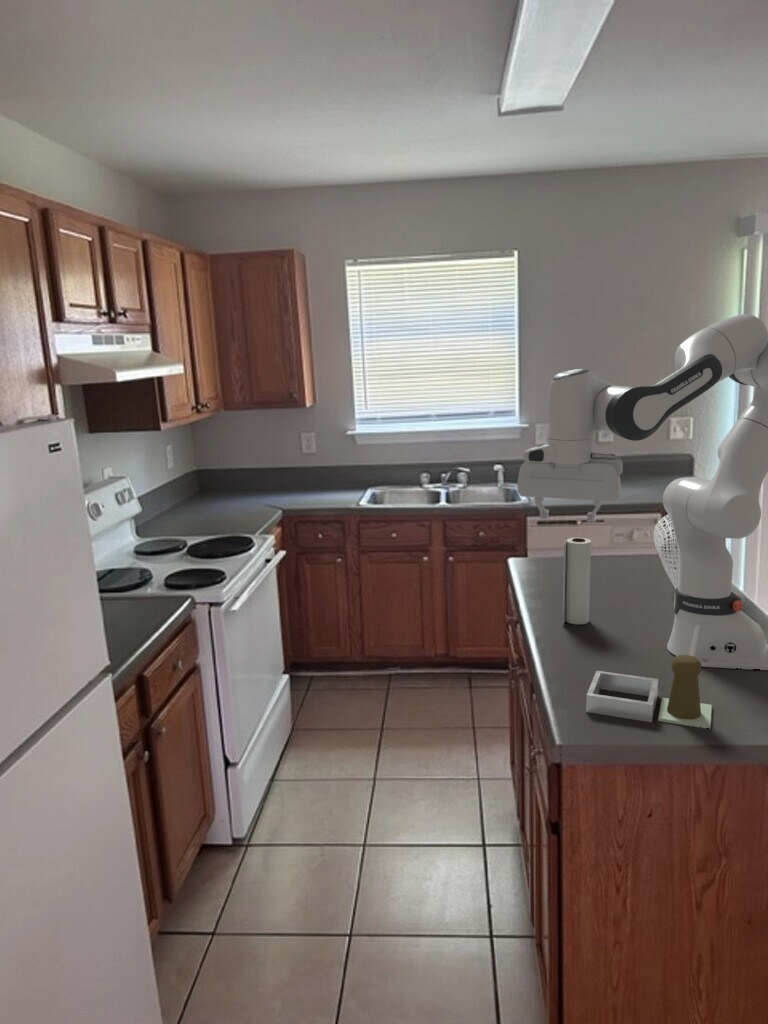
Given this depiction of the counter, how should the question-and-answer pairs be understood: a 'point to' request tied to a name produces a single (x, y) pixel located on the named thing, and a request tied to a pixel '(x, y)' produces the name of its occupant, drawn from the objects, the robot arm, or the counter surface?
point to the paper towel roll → (576, 580)
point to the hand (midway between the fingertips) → (567, 520)
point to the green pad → (702, 721)
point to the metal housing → (622, 705)
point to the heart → (672, 552)
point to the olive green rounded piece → (685, 688)
